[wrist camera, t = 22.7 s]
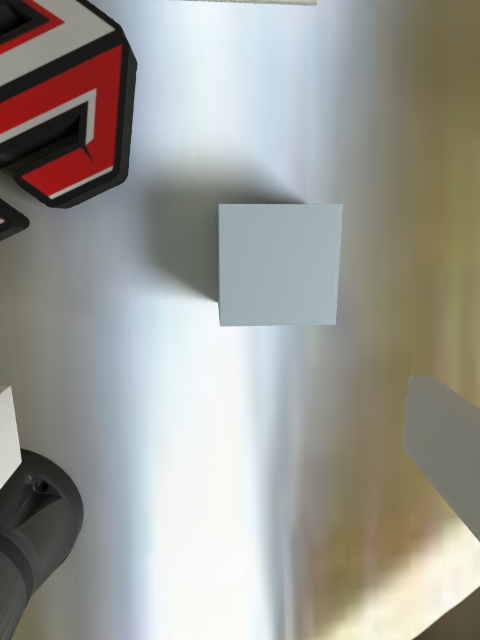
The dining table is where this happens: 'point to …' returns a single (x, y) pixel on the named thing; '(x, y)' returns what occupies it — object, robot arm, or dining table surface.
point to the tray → (269, 1)
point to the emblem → (63, 101)
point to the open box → (278, 263)
